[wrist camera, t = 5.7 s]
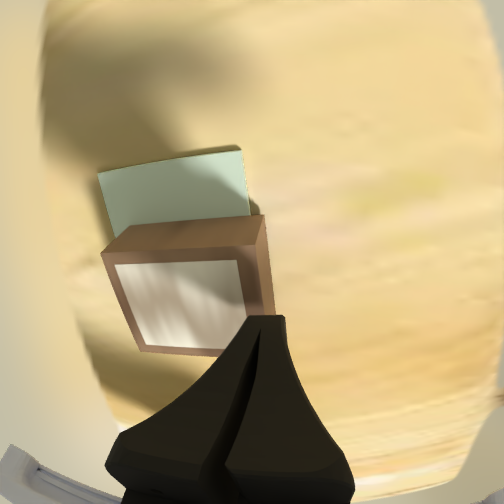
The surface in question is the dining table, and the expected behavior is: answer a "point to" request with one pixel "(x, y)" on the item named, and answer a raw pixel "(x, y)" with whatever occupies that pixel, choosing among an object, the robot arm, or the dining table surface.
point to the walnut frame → (191, 281)
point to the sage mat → (176, 190)
